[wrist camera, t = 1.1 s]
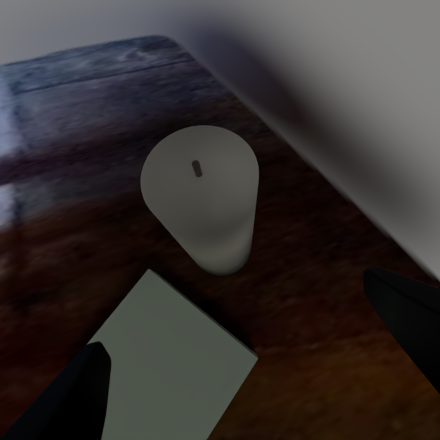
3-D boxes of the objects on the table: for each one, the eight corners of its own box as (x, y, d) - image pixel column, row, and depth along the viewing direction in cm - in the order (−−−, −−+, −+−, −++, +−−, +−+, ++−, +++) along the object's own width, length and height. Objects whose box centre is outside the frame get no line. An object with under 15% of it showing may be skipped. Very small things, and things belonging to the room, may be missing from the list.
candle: (262, 239, 22) (285, 148, 10) (227, 288, 21) (206, 250, 9) (215, 208, 23) (186, 95, 11) (180, 252, 22) (107, 178, 10)
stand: (256, 354, 19) (258, 358, 17) (168, 491, 17) (159, 513, 15) (156, 272, 22) (148, 268, 20) (69, 381, 20) (50, 388, 18)
